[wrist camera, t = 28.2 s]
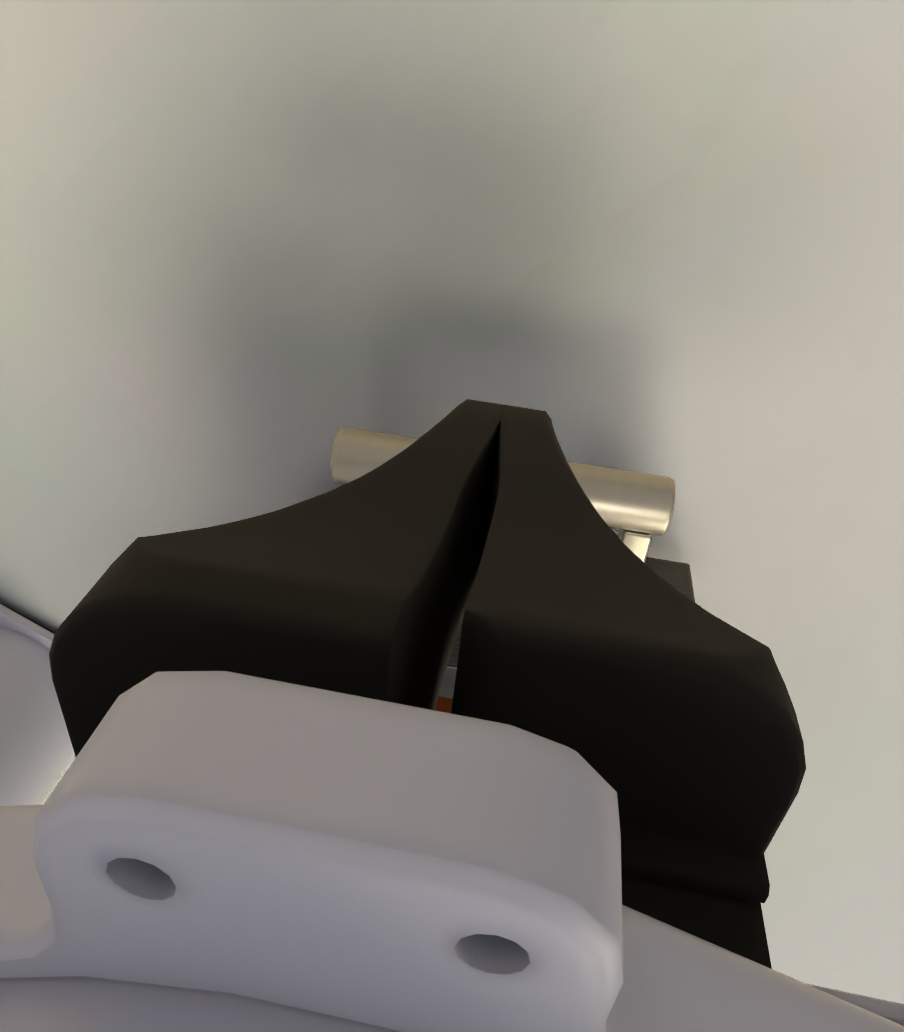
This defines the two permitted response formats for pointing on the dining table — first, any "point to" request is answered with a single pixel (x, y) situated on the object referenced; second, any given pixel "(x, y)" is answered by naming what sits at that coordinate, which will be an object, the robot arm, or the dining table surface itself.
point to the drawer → (612, 492)
